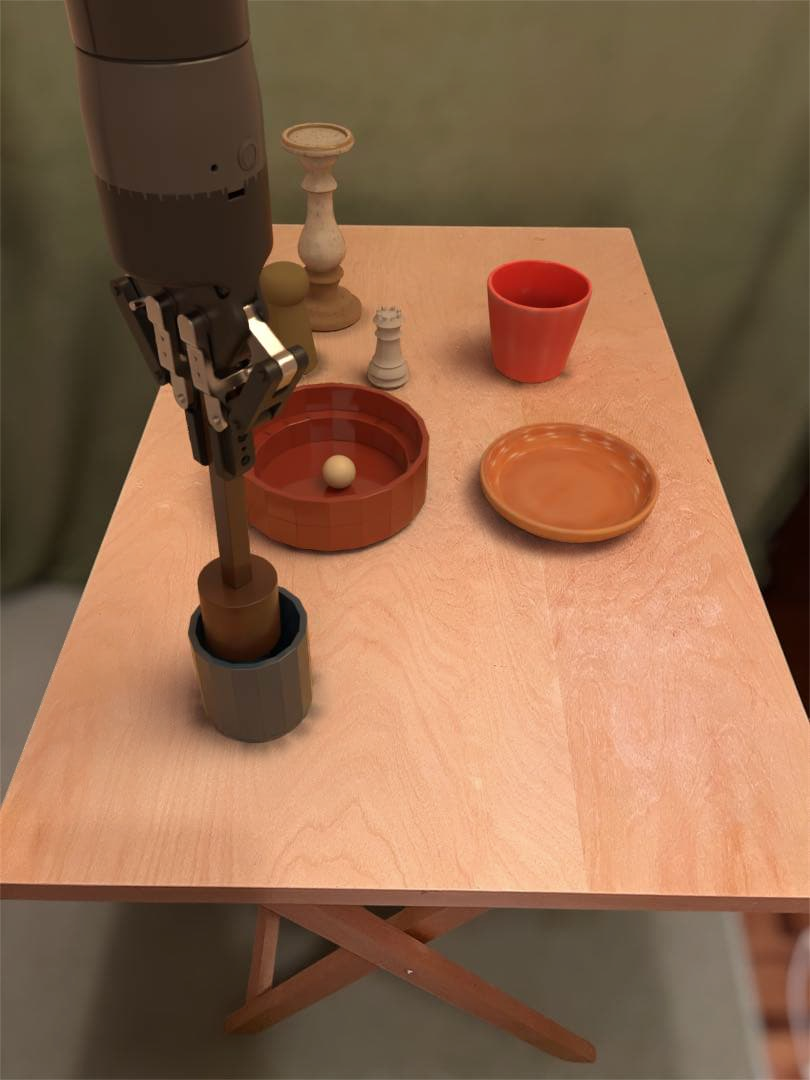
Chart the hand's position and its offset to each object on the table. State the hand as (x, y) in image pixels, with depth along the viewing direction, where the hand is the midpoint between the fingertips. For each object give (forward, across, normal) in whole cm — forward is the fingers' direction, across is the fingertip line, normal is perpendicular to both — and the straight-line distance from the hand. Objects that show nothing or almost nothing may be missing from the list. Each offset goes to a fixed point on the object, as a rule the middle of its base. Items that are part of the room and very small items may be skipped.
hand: (224, 464), depth 52 cm
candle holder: (+22, -37, +42) cm, 60 cm away
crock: (+21, 0, 0) cm, 21 cm away
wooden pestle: (+14, 0, 0) cm, 14 cm away
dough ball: (+19, -13, +21) cm, 31 cm away
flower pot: (+22, -13, +50) cm, 56 cm away
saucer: (+22, +3, +34) cm, 40 cm away
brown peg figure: (+22, -32, +32) cm, 50 cm away
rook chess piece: (+22, -22, +37) cm, 48 cm away
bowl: (+21, -13, +20) cm, 32 cm away
